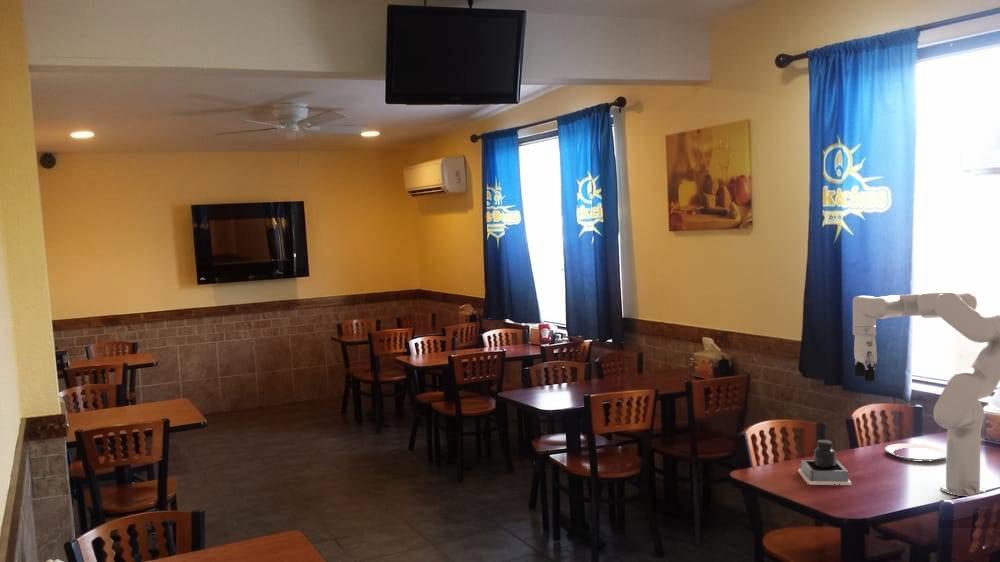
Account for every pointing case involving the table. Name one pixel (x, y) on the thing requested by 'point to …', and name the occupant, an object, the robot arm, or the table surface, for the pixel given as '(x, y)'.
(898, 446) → the plate
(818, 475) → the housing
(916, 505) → the table surface
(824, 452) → the supplement bottle
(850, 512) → the table surface
